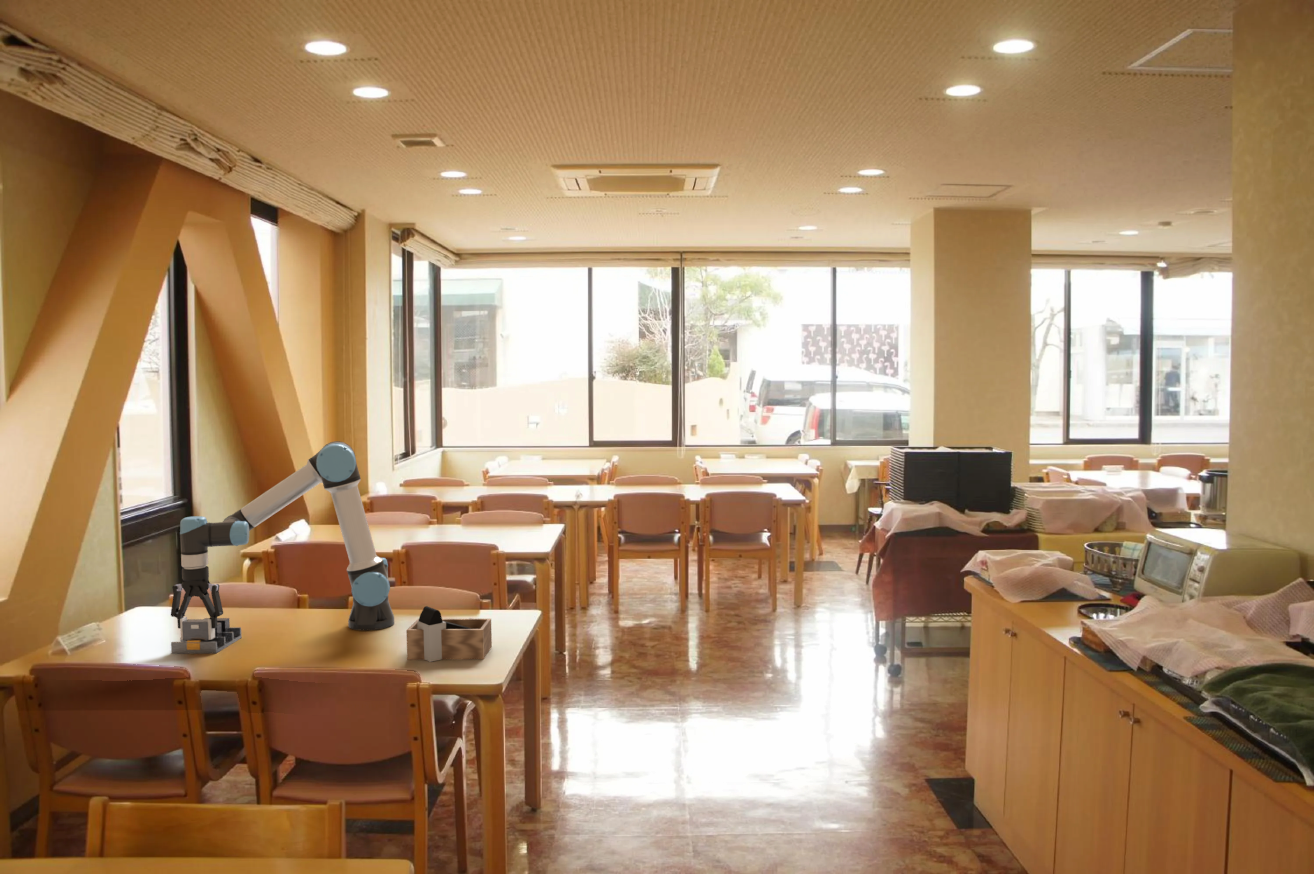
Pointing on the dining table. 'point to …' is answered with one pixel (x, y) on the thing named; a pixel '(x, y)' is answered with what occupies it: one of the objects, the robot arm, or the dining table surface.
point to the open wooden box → (454, 640)
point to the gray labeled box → (195, 629)
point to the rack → (222, 640)
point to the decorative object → (434, 632)
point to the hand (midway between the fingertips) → (198, 638)
